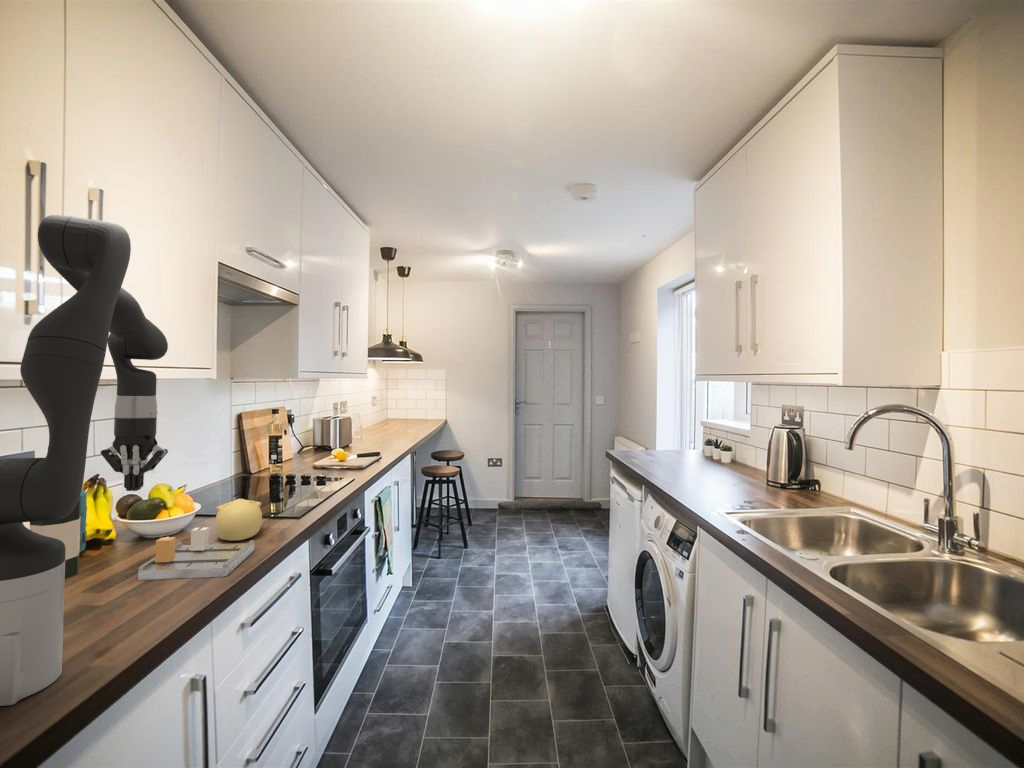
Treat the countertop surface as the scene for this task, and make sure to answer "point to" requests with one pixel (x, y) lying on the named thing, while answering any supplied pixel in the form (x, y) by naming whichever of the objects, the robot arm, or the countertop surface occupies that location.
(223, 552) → the grey slider board
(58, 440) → the robot arm
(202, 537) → the fader
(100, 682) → the countertop surface
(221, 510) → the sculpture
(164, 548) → the block
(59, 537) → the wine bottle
